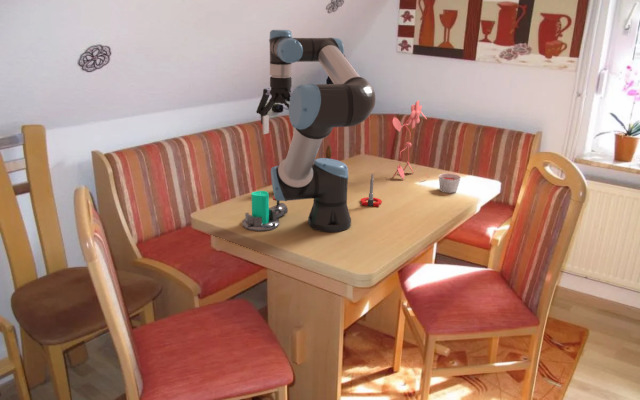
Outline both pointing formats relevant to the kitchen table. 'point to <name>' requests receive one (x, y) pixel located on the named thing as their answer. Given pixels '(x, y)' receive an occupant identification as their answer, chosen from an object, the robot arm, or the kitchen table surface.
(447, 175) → the candle
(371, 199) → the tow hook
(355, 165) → the kitchen table surface
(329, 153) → the hand bell
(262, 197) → the candle
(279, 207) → the fitting
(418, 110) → the figurine
